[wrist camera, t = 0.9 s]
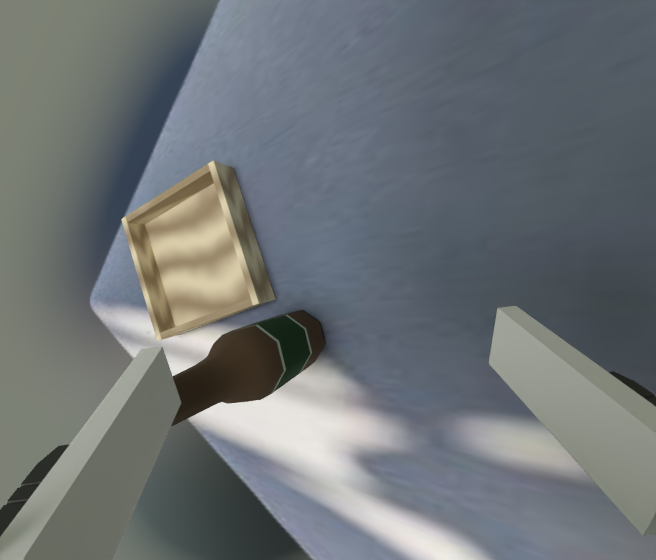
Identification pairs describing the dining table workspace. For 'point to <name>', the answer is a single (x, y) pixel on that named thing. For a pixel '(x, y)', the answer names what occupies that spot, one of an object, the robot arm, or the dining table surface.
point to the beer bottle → (250, 363)
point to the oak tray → (197, 253)
